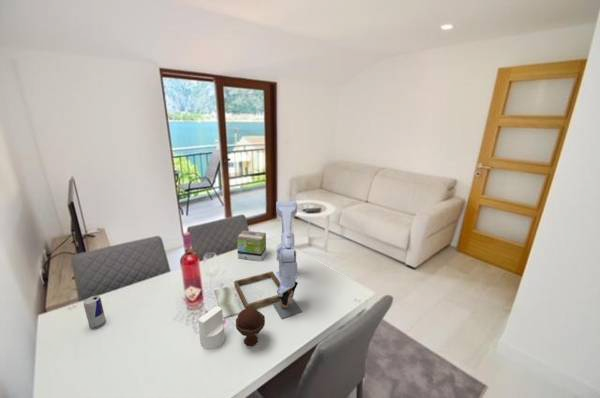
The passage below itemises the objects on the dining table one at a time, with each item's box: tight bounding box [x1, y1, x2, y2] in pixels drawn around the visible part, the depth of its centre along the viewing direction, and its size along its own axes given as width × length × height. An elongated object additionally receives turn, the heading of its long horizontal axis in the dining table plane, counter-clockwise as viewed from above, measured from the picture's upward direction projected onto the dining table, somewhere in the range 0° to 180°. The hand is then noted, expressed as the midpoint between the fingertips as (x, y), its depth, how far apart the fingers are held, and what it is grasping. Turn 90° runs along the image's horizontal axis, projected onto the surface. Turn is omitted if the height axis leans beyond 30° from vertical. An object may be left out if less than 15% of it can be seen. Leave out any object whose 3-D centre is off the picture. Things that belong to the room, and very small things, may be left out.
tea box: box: [236, 230, 267, 262], centre depth 159 cm, size 15×10×15 cm, turn 81°
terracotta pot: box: [280, 289, 294, 308], centre depth 117 cm, size 5×5×7 cm
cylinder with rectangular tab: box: [197, 305, 226, 350], centre depth 99 cm, size 9×9×12 cm
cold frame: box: [214, 271, 280, 320], centre depth 126 cm, size 30×20×3 cm
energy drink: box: [83, 295, 107, 330], centre depth 105 cm, size 5×5×12 cm
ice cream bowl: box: [235, 308, 266, 348], centre depth 99 cm, size 11×11×15 cm
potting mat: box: [272, 297, 303, 320], centre depth 118 cm, size 10×10×1 cm
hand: (287, 300), depth 117 cm, fingers closed on terracotta pot, 5 cm apart
